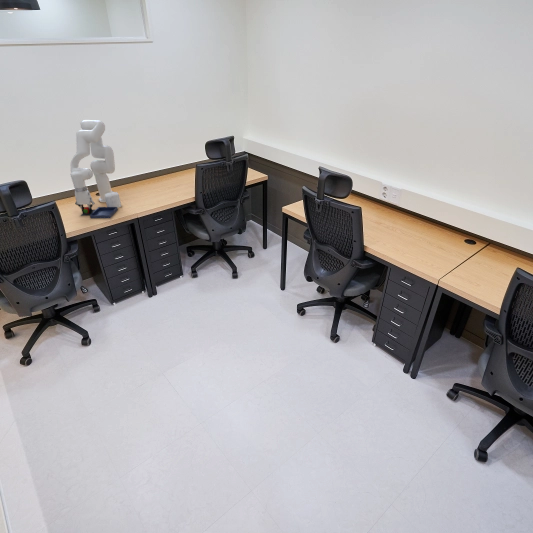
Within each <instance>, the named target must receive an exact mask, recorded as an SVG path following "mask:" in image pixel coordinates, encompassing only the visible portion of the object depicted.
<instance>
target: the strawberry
mask: <svg viewBox="0 0 533 533" xmlns="http://www.w3.org/2000/svg"><path fill="white" fill-rule="evenodd" d="M84 207H85V208H84V210H83V211H84V213H89V210H88V208H89V207H88V206H84Z"/></svg>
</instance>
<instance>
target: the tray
mask: <svg viewBox="0 0 533 533" xmlns="http://www.w3.org/2000/svg"><path fill="white" fill-rule="evenodd" d="M118 209H119V208H117V207H107V206H98V207H96V208H95V209H94V210H95V211H94V212H93V213H92V214H91V215H90V216H89V218H90V219H111V218H112V217H113V216H114V215H115V214H116V212H117V211H118Z"/></svg>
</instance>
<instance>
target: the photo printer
mask: <svg viewBox="0 0 533 533" xmlns="http://www.w3.org/2000/svg"><path fill="white" fill-rule="evenodd" d="M105 200H106V202H105V203H106V207H117V208H118V209H119V208H122V201H121V198H120V194H119V192H118V191H113V192H110V193H107V194H105Z"/></svg>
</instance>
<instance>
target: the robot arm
mask: <svg viewBox="0 0 533 533" xmlns="http://www.w3.org/2000/svg"><path fill="white" fill-rule="evenodd" d="M79 124H80V128H81V129H79V130H77V131H76V134H75V137H76V138H75V141H76V152H75V154H74V155H73V156H72V158H71V161H70V177H71V181H72V185H73V187H74V197H75V203H74V204H75V205H76V206H78V207H79V209H80V210H81V212H82V214H83V213H84V211H83V210H84V208H85V207H86V206H87V207H89V208H88V210H89V213H92V210H93V206H94V205H95V204H96V203H95V201H94V200H93V198H92V195H91V192H90V191H89V187H87V185H86V182H85V181H87V180H91V179H92V178H93V176H94V179H95V183H96V187H97V190H98V194H99V198H98V202H100V203H106V200H105V194H107V193H110V192H114V191H113V190H112V186H111V182H110V178H109V175H108V174H110V175H111V174H113V173H115V170H116V165H115V164H116V163H115V154H114V153H115V152H114V150H113V148H112V146H110V145H105V144H104V143H103V139H102V136H103V135H104V133H105V131H106V125H105V123H104V122H103V121H102V120H97V119H96V120H95V119H92V120H91V119H84V120H81V121H80V122H79ZM90 155H91V157H93V158H95V159H94V160H92V161H91V162H90V164H89V167H90V168H85V167H84V168H83V167H79V164H80V162H81V161H82V160H83V159H85V158H86V157H88V156H90ZM101 159H103V160H101ZM85 205H86V206H85Z"/></svg>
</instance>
